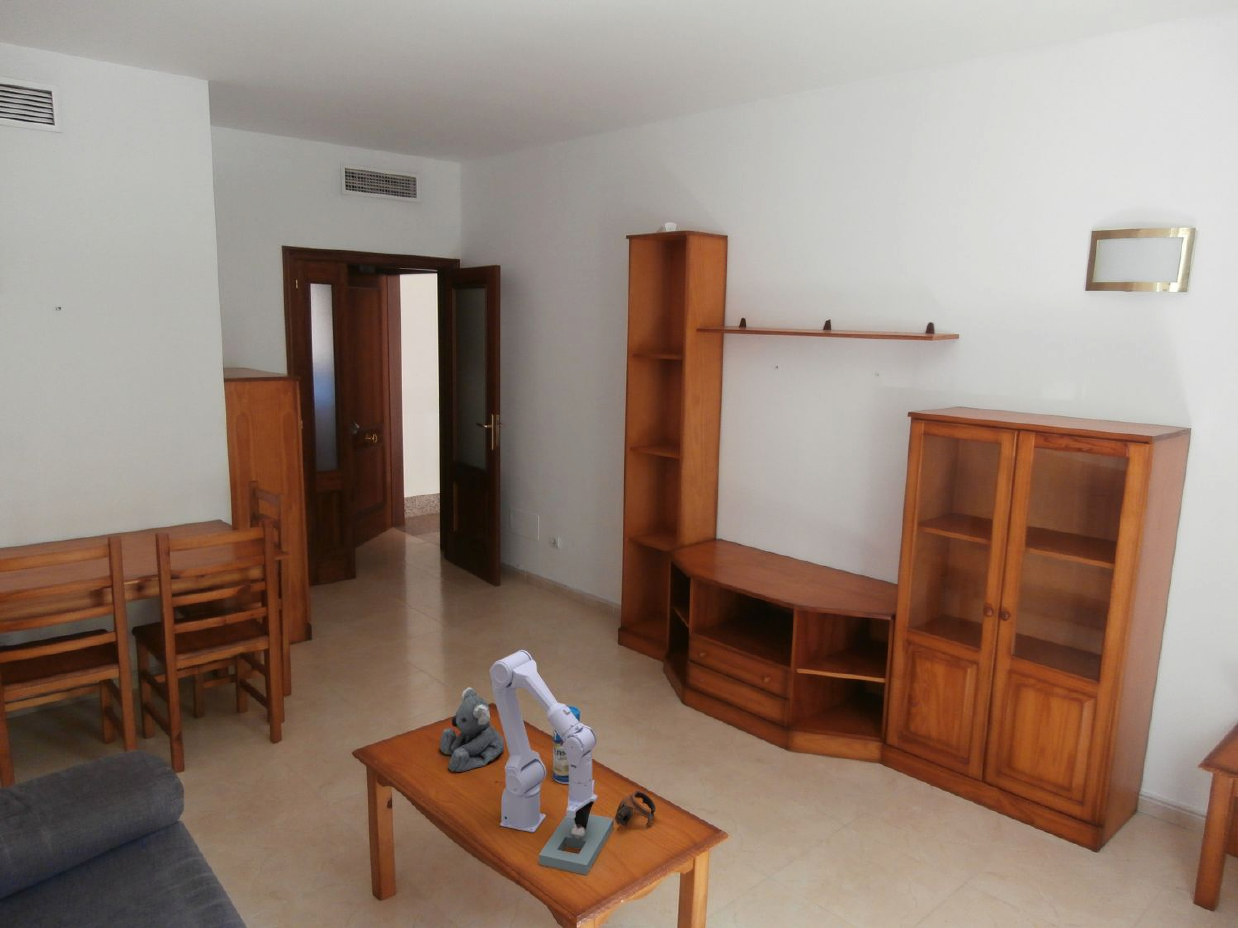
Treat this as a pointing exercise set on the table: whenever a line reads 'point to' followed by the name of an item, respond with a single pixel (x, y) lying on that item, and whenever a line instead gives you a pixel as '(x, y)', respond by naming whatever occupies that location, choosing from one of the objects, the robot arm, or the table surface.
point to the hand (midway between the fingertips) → (581, 829)
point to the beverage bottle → (561, 754)
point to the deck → (576, 845)
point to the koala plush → (471, 735)
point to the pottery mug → (631, 803)
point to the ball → (578, 831)
